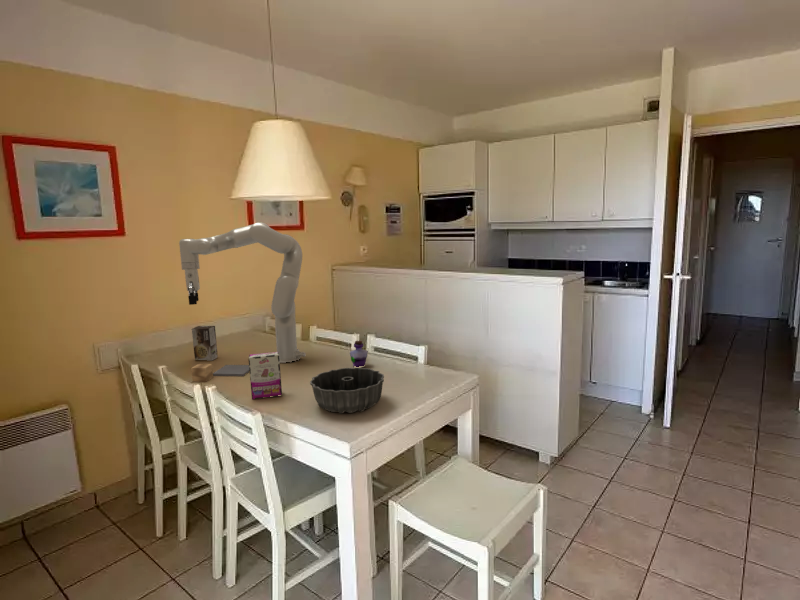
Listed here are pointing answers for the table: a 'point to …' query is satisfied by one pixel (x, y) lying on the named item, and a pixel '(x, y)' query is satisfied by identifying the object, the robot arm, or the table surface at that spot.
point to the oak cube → (202, 372)
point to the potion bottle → (358, 354)
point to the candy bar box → (265, 375)
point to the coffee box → (204, 343)
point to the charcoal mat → (232, 370)
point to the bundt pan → (347, 389)
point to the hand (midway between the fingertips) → (194, 302)
